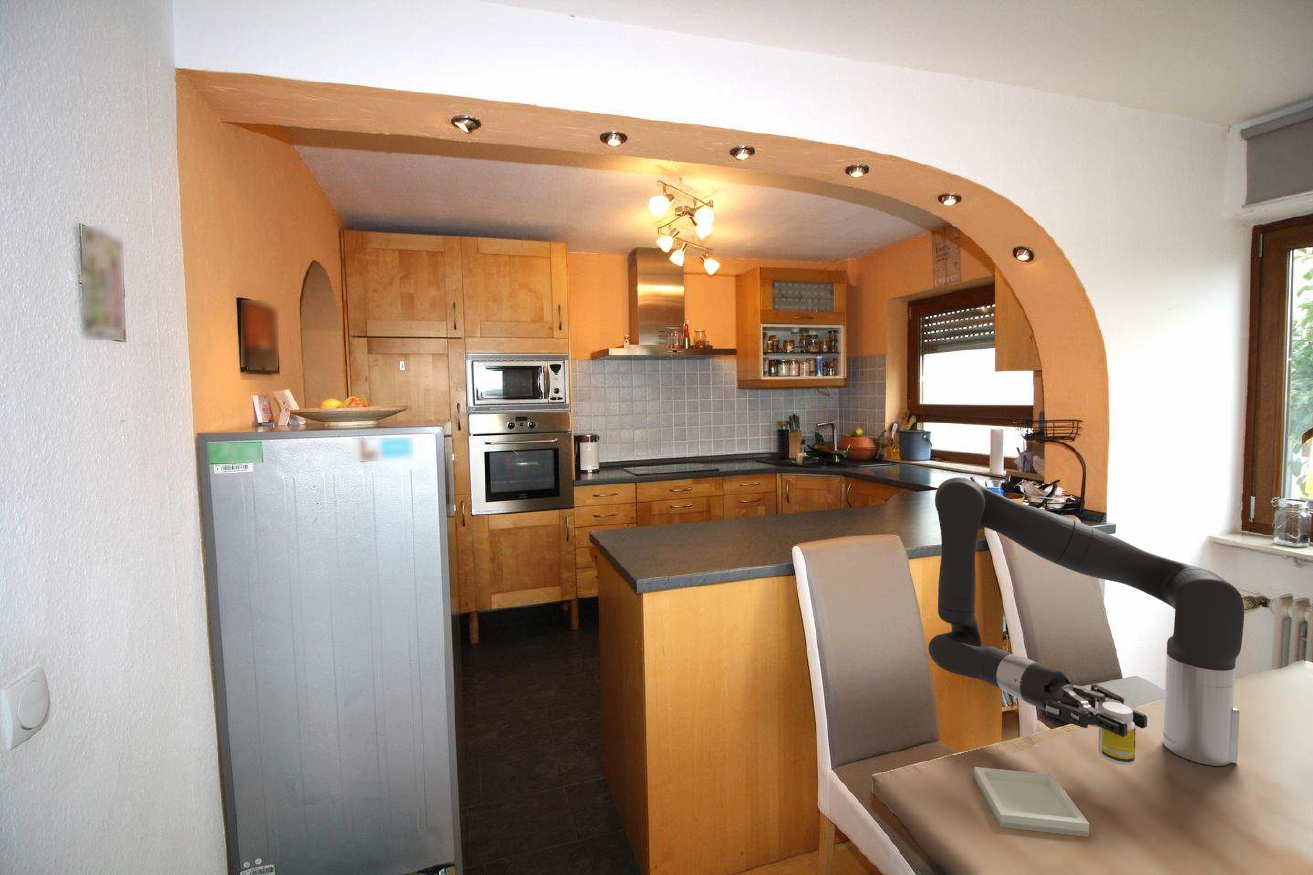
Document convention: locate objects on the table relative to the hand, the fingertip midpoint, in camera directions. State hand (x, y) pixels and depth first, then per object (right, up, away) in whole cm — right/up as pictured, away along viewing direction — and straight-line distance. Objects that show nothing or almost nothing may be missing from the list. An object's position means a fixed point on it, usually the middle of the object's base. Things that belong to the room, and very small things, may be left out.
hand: (1135, 726), depth 96 cm
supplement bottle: (-1, -7, +3) cm, 7 cm away
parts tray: (-17, -13, 0) cm, 21 cm away
